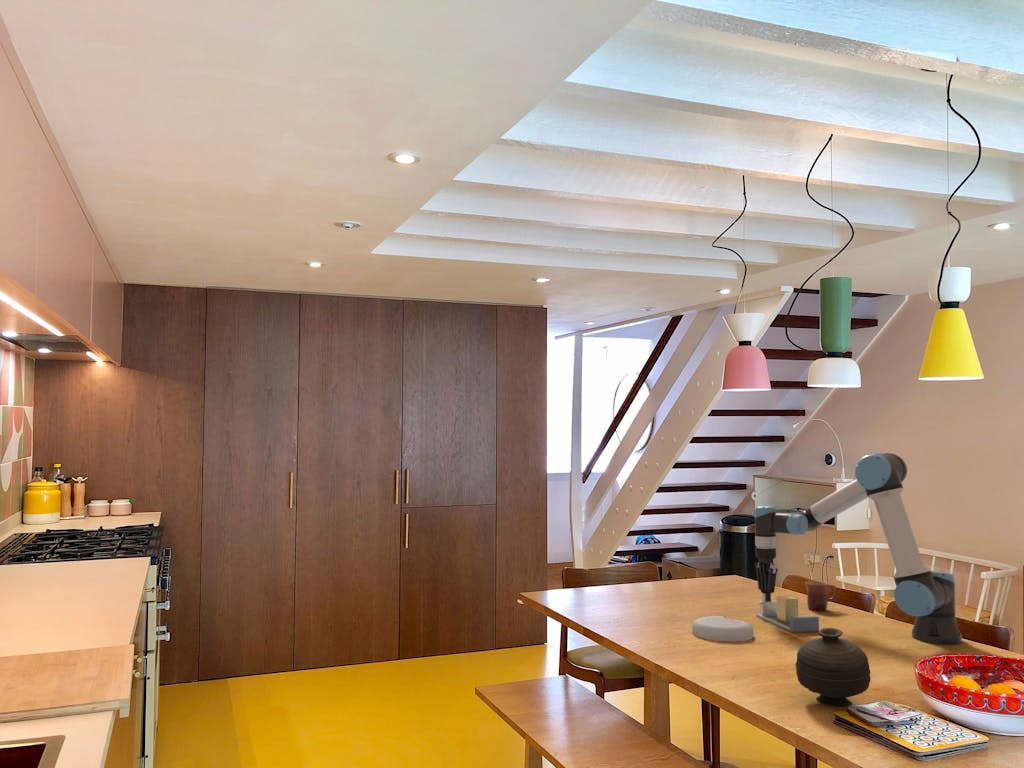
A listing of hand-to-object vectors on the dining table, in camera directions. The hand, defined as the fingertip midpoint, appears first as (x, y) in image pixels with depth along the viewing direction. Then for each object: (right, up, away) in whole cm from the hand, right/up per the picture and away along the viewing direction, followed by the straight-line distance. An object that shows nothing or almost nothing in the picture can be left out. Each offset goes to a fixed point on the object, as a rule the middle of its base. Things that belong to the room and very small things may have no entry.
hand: (766, 610), depth 312 cm
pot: (-14, +2, -101) cm, 102 cm away
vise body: (+3, -2, -14) cm, 14 cm away
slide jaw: (+1, -1, -3) cm, 3 cm away
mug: (+26, -4, +14) cm, 30 cm away
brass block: (+3, -1, -14) cm, 15 cm away
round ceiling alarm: (-24, -2, -30) cm, 38 cm away
